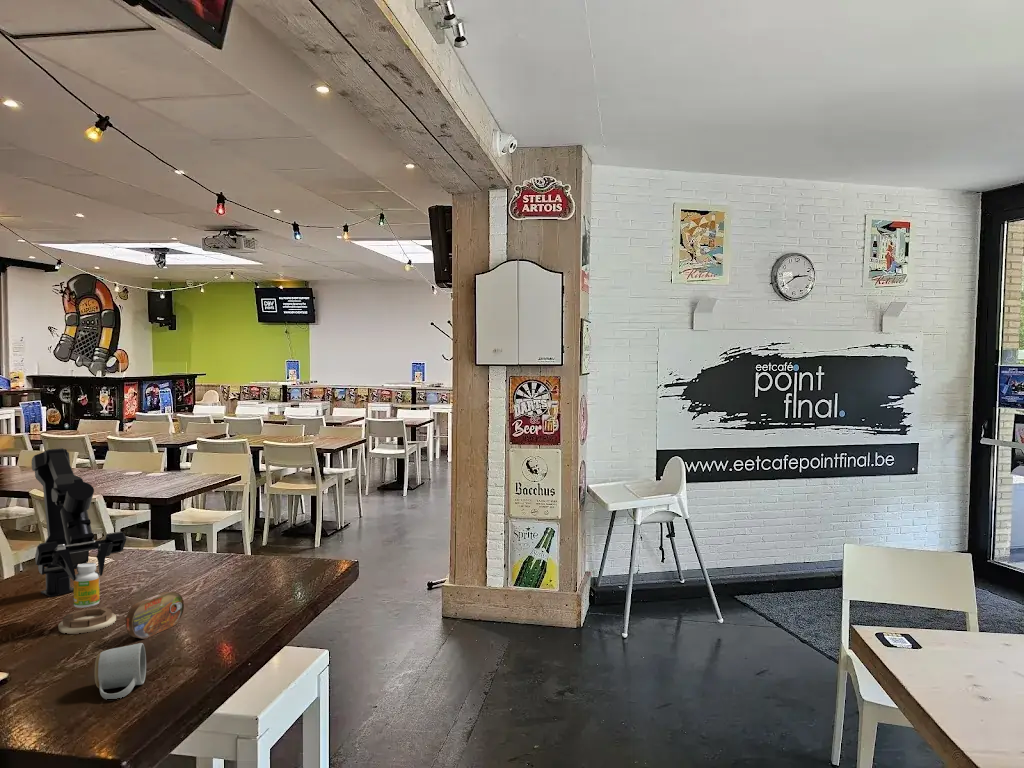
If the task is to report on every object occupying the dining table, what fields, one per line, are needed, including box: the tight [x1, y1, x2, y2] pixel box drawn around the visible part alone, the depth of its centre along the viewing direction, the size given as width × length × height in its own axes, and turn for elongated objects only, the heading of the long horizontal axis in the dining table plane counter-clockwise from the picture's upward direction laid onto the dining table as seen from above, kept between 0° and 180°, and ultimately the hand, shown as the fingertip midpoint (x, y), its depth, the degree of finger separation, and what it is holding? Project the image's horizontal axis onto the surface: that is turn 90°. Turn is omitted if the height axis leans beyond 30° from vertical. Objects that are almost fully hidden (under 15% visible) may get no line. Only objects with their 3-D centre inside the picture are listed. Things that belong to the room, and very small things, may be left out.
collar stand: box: [58, 606, 117, 635], centre depth 172 cm, size 12×12×2 cm
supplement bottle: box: [73, 562, 101, 609], centre depth 172 cm, size 5×5×10 cm
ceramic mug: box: [94, 642, 147, 700], centre depth 138 cm, size 11×8×8 cm
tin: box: [125, 591, 185, 640], centre depth 167 cm, size 15×3×8 cm, turn 160°
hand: (88, 577), depth 171 cm, fingers closed on supplement bottle, 5 cm apart
